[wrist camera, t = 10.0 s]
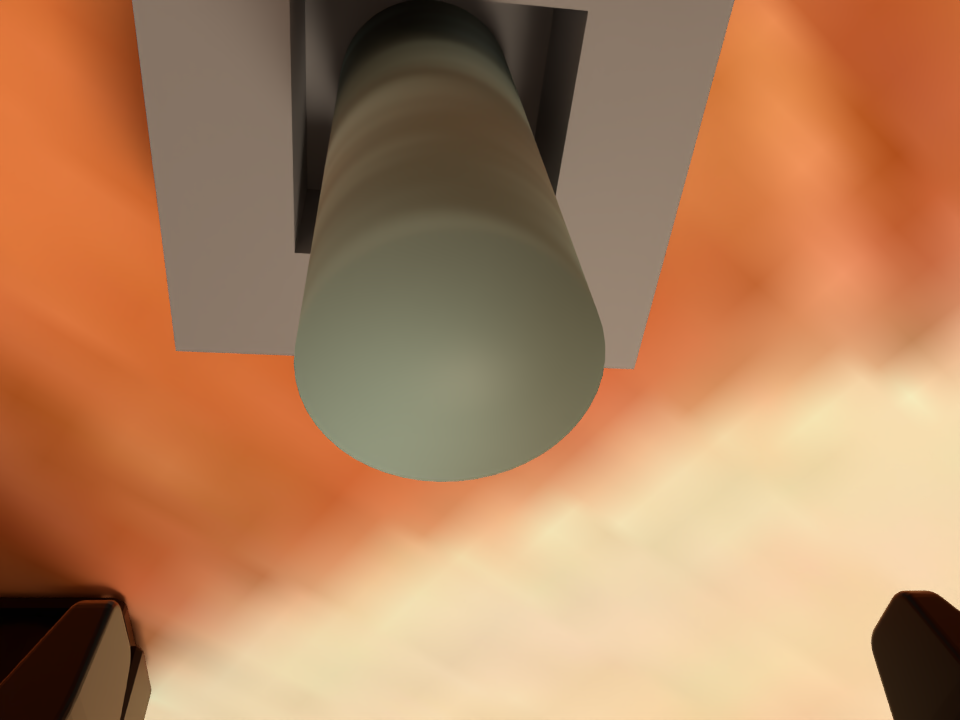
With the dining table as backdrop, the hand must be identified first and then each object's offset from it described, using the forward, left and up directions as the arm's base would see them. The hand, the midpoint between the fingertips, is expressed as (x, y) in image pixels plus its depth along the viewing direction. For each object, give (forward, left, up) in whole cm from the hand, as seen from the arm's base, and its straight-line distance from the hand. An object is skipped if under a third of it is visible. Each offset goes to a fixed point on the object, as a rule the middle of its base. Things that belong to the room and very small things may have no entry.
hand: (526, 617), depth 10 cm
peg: (-1, +2, -12) cm, 12 cm away
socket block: (-1, +2, -13) cm, 13 cm away
